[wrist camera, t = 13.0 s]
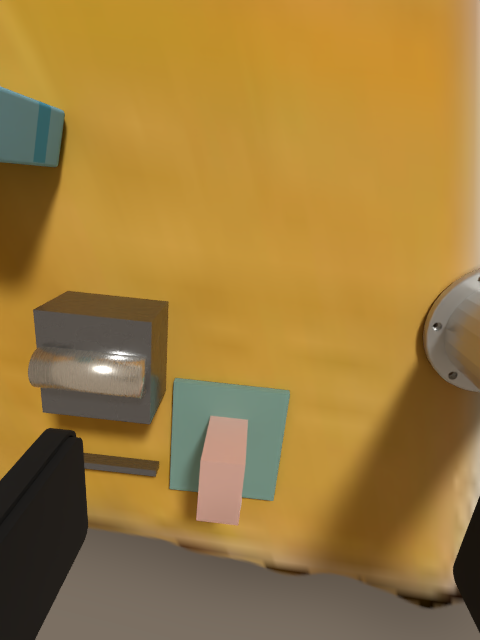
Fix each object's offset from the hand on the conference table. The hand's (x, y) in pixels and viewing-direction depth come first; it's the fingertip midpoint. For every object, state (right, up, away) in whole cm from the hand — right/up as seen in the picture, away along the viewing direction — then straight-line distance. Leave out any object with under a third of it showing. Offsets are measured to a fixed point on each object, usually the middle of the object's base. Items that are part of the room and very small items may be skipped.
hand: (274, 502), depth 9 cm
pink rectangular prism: (-2, -9, +33) cm, 34 cm away
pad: (-2, -9, +33) cm, 35 cm away
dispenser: (-14, -3, +32) cm, 35 cm away
